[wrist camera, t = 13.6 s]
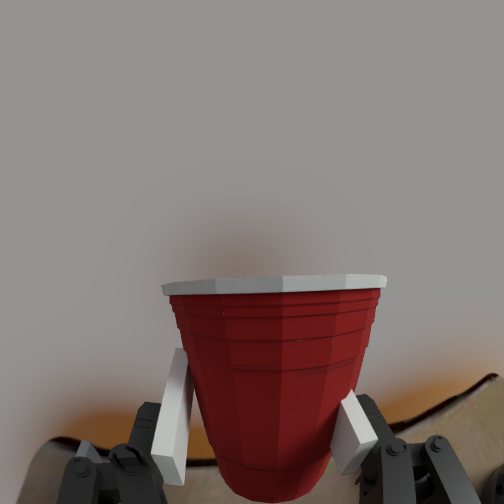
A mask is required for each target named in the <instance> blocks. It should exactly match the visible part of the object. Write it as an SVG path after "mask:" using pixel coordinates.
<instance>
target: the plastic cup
mask: <svg viewBox="0 0 504 504" xmlns="http://www.w3.org/2000/svg"><path fill="white" fill-rule="evenodd" d="M386 282H387V277H385V276H382V275H357V274H341V275H308V276H306V275H305V276H273V277H251V278H229V279H209V280H196V281H184V282H172V283H168V284H164V285H161V286H162V290H163V294H164V295H167V296H170V304H171V305H172V310H173V312H174V313H175V317H176V323H177V328H178V329H180V334H181V339H182V344H183V349H184V351H185V352H186V354H187V358H188V363H189V368H190V372H191V376H192V381H193V385H194V389H195V393H196V397H197V401H198V405H199V408H200V412H201V416H202V419H203V422H204V427H205V430H206V434H207V437H208V440H209V444H210V445H211V446H212V447H213V450H214V454H215V457H216V460H217V464H218V467H219V470H220V473H221V476H222V477H223V479H224V480H225V483H226V484H227V485H228V486H229V487H230V488H231V489H232V491H233V492H234V493H236V494H238V495H240V496H242V497H244V498H246V499H249V500H251V501H256V502H264V503H279V502H285V501H291V500H295V499H297V498H299V497H301V496H303V495H305V494H307V493H309V492H310V491H311V490H312V488H313V487H314V486H315V485H316V483H317V482H318V481H319V479H320V478H321V477H322V475H323V474H324V471H325V469H326V467H327V464H328V462H329V459H330V457H331V454H332V451H331V448H330V444H331V441H332V437H333V433H334V429H335V425H336V421H337V416H338V412H339V407H340V402H341V401H342V400H343V399H345V398H346V397H347V396H348V394H349V393H350V391H351V389H352V390H353V392H355V388H356V385H357V381H358V377H359V373H360V369H361V366H362V361H363V357H364V353H365V349H366V347H367V346H368V343H369V337H370V331H371V325H372V323H373V322H374V318H375V310H376V306H377V305H378V299H379V297H380V289H381V288H385V287H386Z"/></svg>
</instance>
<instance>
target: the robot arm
mask: <svg viewBox="0 0 504 504" xmlns="http://www.w3.org/2000/svg"><path fill="white" fill-rule="evenodd" d="M193 392H194V385H193V381H192V376H191V372H190V368H189V363H188V358H187V354H186V352H185V351H184V349H183V348H176V350H175V354H174V357H173V361H172V365H171V369H170V373H169V377H168V380H167V385H166V389H165V392H164V397H163V401H162V404H160V403H151V402H145V403H144V404H143V405H142V406H141V407H140V408H139V409H138V412H137V415H136V420H135V422H134V427H133V429H132V432H131V435H130V438H129V442H128V444H126V443H125V444H120V445H117V446H115V447H113V448H112V449H111V451H110V452H109V460H110V461H111V463H93V462H92V461H91V460H90V459H88V458H86V457H81V456H78V457H74V458H72V459H71V460H69V462H68V463H67V465H66V469H65V472H64V476H63V480H62V484H61V488H60V492H59V496H58V501H57V504H118V503H121V504H168V503H167V500H166V497H165V493H164V491H163V489H162V486H163V480H164V482H165V484H171V485H180V486H184V478H185V467H186V456H187V445H188V435H189V427H190V418H191V408H192V401H193ZM330 448H331V451H332V454H333V456H334V459H335V462H336V465H337V468H338V470H339V473H340V475H344V474H348V473H352V472H356V471H357V470H358V468H359V467H360V466H361V468H362V470H363V472H362V474H361V475H360V476H359V477H358V479H357V480H356V482H355V485H357V484H358V483H359V482H360V498H359V504H504V463H503V464H502V465H501V466H500V467H499V468H498V469H497V470H496V471H495V472H494V474H493V475H492V476H491V478H490V479H489V481H488V482H487V484H486V486H485V489H484V491H483V494H482V497H481V502H480V500H479V498H478V496H477V494H476V491H475V489H474V487H473V485H472V483H471V482H470V480H469V478H468V476H467V474H466V472H465V470H464V468H463V466H462V464H461V463H460V461H459V459H458V457H457V455H456V454H455V452H454V450H453V448H452V446H451V445H450V443H449V441H448V440H447V439H446V438H445V437H443V436H441V435H433V436H431V437H429V438H428V439H427V441H426V442H425V443H414V444H407V443H406V442H405V441H404V440H402V439H400V438H396V437H395V436H394V434H393V433H392V431H391V429H390V427H389V426H388V424H387V422H386V421H385V419H384V417H383V415H381V412H380V411H379V409H378V407H377V405H376V404H375V402H374V400H373V399H371V398H370V397H369V396H368V395H366V394H362V395H357V396H355V394H354V392H353V390H352V389H351V391H350V393H349V394H348V396H347V397H346V398H345V399H343V400H342V401H341V402H340V407H339V412H338V416H337V421H336V425H335V429H334V433H333V437H332V441H331V444H330Z"/></svg>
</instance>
